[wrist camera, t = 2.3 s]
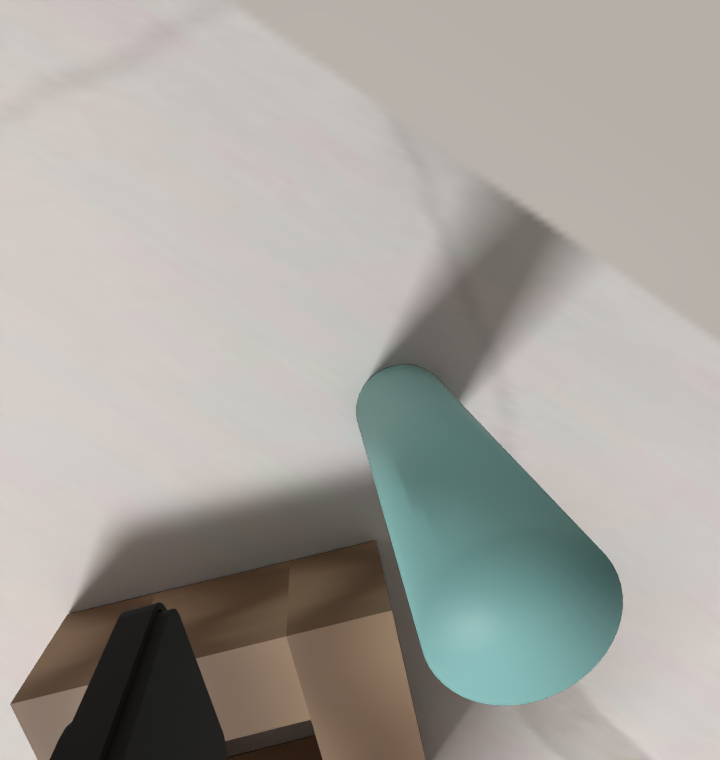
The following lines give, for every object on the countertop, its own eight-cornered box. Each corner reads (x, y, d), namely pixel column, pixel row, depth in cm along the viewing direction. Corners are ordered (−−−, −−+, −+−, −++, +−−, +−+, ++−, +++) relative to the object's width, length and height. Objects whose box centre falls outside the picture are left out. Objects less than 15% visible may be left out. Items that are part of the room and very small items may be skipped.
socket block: (375, 540, 20) (392, 610, 16) (427, 768, 24) (450, 871, 20) (67, 614, 20) (10, 704, 16) (163, 836, 23) (134, 956, 19)
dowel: (440, 355, 19) (615, 504, 8) (454, 441, 20) (629, 677, 9) (347, 376, 19) (402, 556, 8) (366, 462, 19) (437, 726, 9)
